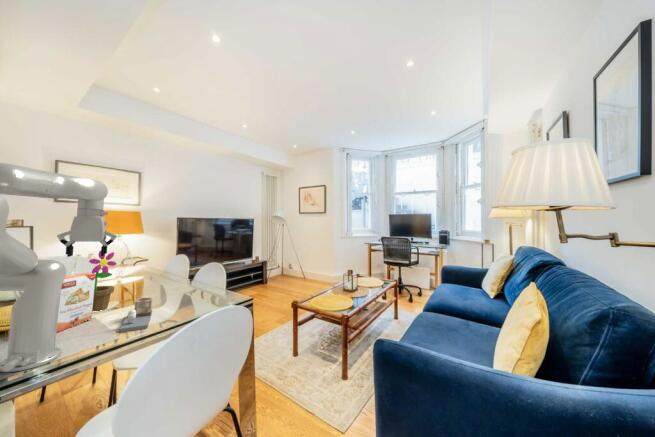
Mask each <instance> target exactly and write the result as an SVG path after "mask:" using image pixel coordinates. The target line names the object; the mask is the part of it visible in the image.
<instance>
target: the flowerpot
mask: <svg viewBox="0 0 655 437" xmlns="http://www.w3.org/2000/svg"><path fill="white" fill-rule="evenodd" d="M114 256H115V252H110V253H107V255H106V254H105V255H104V256H101V250H99V252H98V258H99V259H98V258H96V259H95V258H91V259H89V261H88V262H89V263H90V264H94V265H96V266H95V267H94V268H92V270H91V273H93V274H96V277H95V287H94V297H93V307H92V310H94V311H100V310H103V311H105V309H106V310H107V309H108V306H109V303H110V298H111V294H113V293H114V291H115V287H114V286H113V285H98V278H99V279H105V278H108V277H111V276H113V273H110V272H109V266H111V267H114V266H117V263H118V262H116V261H113V260H111V259H112V258H113V257H114ZM100 270H101V272H100ZM100 312H101V311H100Z"/></svg>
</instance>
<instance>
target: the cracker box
mask: <svg viewBox="0 0 655 437" xmlns="http://www.w3.org/2000/svg"><path fill="white" fill-rule="evenodd" d="M95 277H96V273H94V274H93V273H92V272H90V273H89V272H87V273H85V272H82V273H78V274H71V275H67V276H66V275H65V278H64V281H63V284H62V287H61V291H60V297H59V308H58V319H57V331H56V334H57V333H59V332H62V331H64V330H67V329H70V328H72V326H73V327H75V325H76V326H78V325H80V324H79V323H81V324H83V323H82V322H84V321H86V320H89V319H91V320H92V316H93V315H92V314H93V313H92V307H93V297H94V287H95ZM89 321H90V320H89ZM86 322H87V321H86ZM84 323H85V322H84ZM77 324H78V325H77Z"/></svg>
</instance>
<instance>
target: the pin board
mask: <svg viewBox="0 0 655 437" xmlns="http://www.w3.org/2000/svg"><path fill="white" fill-rule="evenodd" d="M152 315H153V311H152V312H151V315H150V316H143V317H136V311H135V309H130V310H129V311H128V313H127V315H126V317H125V319H124V321H123V323H122V324H121V326H120V328H119V333H121V334H122V333H126V332H132V331H138V330H139V329H141V330H146V328H147V329H148V328H149V325H150V321H151V318H152Z"/></svg>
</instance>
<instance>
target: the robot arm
mask: <svg viewBox="0 0 655 437" xmlns="http://www.w3.org/2000/svg"><path fill="white" fill-rule="evenodd" d="M108 194H109V189H108V187H107V186H106V184H105V183H104V182H102V181H100V180H96V179H91V178H85V177H79V176H73V175H67V174H62V173H58V172H51V171H45V170H41V169H36V168H31V167H26V166H20V165H17V164H10V163H3V162H0V292H11V291H13V292H14V291H15V292H16V291H20V292H23V293H22V294H21V295H20V296H19V297H18V298H17V299H16V300H15V301H14V302H13V304H12V307H11V311H10V324H9V334H8V335H9V336H8V345H7V358H5V359H3V360H2V361H1V362H0V372H1V373H13V372H20V371H26V370H29V369H34V368H37V367H41V366H43V365H45V364H48V363H51V362H52V361H54V360H56V359H57V358H59V357H60V356H61V355H62V353H63V352H62V348H60V347H56V342H57V333H56V331H57V319H58V308H59V297H60V291H61V287H62V284H63V281H64V278H65V276H66V274H67V268H66V265H65V264H64V263H62V262H61V261H58V260H54V259H45V258H43V259H40V258H39V257H38V255H37V253H36V251H34V250H33V249H31V247H28V246H27V245H26V244H24V243H23V242H21V241H19V239H16V238H15V237H13V236H12V235H11V234H9V232H7V223H8V218H9V214H10V205H9V203H8V201H7V200H6V199H5V197H3V196H2V195H6V196H18V197H19V196H20V197H30V198H41V199H55V200H56V199H59V200H60V199H61V200H62V199H66V200H77V209H76V216H74V217H73V219H72V222H71V227H70V230H68V231H66V232H62V233H60V234H57V236H56V238H57V239H58V240H59V242H60V243H61V244H62V245H63V246H64V247H66V248H65V255H66V257H67V258H68V257H69V258H70V257H73V256H74V246H73V245H74V244H75V243H76V242H77V243H78V242H79V243H85V242H86V243H87V242H89V243H91V242H93V243H94V242H95V243H97V242H99V243H100V244H101V245H102V246H101V247H100V251H101V256H104V255H105V256H106V254H107V255H108V246H109V245H110V244H112V243H113V242H114V241H115V240H116V238H117V237H118V236H117V235H116V234H113V233H111V232H109V231H107V221H106V220H107V219H106V217H104V216H108V214H109V213H108V211H105V210H104V205H105V198H107V196H108ZM66 236H68V237H69V238H68V239H69V241H68V240H67V239H66V238H65V237H66ZM107 236H108V237H110V239H108V240H106V239H107Z"/></svg>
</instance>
